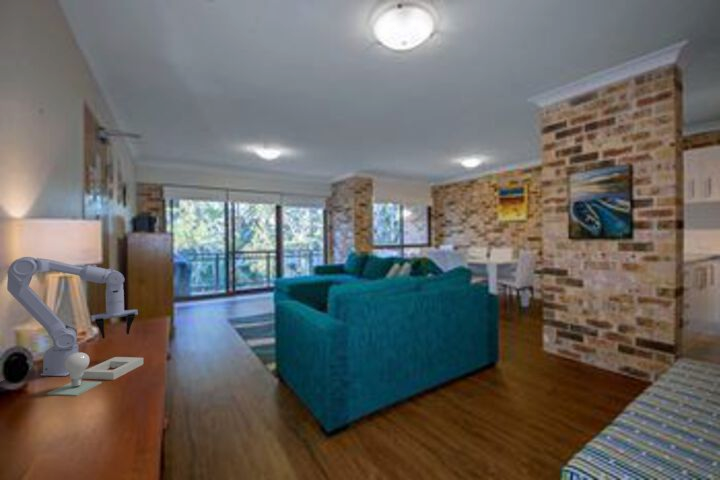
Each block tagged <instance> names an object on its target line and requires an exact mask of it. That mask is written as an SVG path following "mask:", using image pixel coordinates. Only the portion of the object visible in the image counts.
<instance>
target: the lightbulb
mask: <svg viewBox="0 0 720 480" xmlns="http://www.w3.org/2000/svg"><path fill="white" fill-rule="evenodd" d="M90 361H91V360H90V356H89V355H88V354H87V353H86V352H82V351H81V352H80V351H79V352H77V353H74V354H72V355H70V356H69V357H68V358H67V359H66V360H65V362H64V368H65V370H66V371H67V372H68V373H69V377H70V380H71V381H70V383H71V382H72V383H71V386H73V387H78V386H79V385H81V384H82V381H83V379H82V376H83V374H84V371H85V370H87V369H88V367H89V365H90Z"/></svg>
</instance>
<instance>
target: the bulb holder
mask: <svg viewBox="0 0 720 480" xmlns="http://www.w3.org/2000/svg"><path fill="white" fill-rule="evenodd" d="M143 365H144V357H134V356H133V357H130V356H114V357H111V358H109V359H107V360H105V361H102V362H100V363H98V364H96V365H93V366H91V367H89V368H86V369H85V371H84V374H83V376H82V380H107V381H108V380H110V381H112V380H116V379H118V378H120V377H122V376H124V375H126V374H127V373H129V372H131V371H134V370H135V369H137V368H139V367H141V366H143Z"/></svg>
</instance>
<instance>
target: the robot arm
mask: <svg viewBox="0 0 720 480" xmlns="http://www.w3.org/2000/svg"><path fill="white" fill-rule="evenodd" d="M37 271H38V273H40V274H41V273H46V272H49V271H52V272H58V273H64V274H70V275H74V276H79V278H80V279H81V280H82V281H88V282H91V283H97V284H100V285H101V284H102V285H103V284H106V287H105V288H106V289H105V312H103V313H96V314H93V315H91V316H90V317H91V322H95V324H96V326H97V327H98V329H99V331H100V334H101V339H105V338H106V337H105V323H104V320H107V319H114V318H115V319H116V318H120V317H126V319H125V320H126V331H125V332H126V335H129V334H130V331H131V326H132V324H133V322H134V320H135V318H136V316H137V315H139V313H138V310H139V309H125V296H124V295H125V292H124V283H125V277H124V275H123V274H122V273H121V272H120V271H118V270H115V269H112V268H103V267H99V266H97V264H92V265H89V264H87V265H85V266H78V265H74V264H69V263H65V262H61V261H58V260H57V261H56V260H52V259H48V258H39V257H37V258H35V257H32V256H24V257H20V258H17V259H15V260H14V261H12V262H11V264H10V266H9V267H8V270H7V272H6V273H7V282H6V285H7V287H6V288H7V291H8V293H9V294H10V295H11V296H12V297H13V298H14V299H15V300H16V301H17V302H18V303H19V304H20V305H21V306H22V307H23V308H24V309H25V310H26V311H27V312H28V313H29V314H30V315H31V316H32V317H33V318H34V319H35V320H36V322H38V323H39V325H41V327H42V328H44V330H45V331H46V332H47V334H48V336H49V337H50V338H51V339H52V343H53V347H50V348H48V349H47V350H46V351H45V352H44V353H43V354H44V355H43V359H42V360H43V363H42V365H43V367H42V368H43V369H42V370H43V373H40V376H50V377H51V376H52V377H67V376H70V374H69V373H68V372H67V371H66V370H65V368H64V362H65V360H66V359H67V358H68V357H69V356H70V355H72V354H74V353H77V352H80V351H79V349H80V348H79V346H80V345H79V344H80V343H78V342H77V341H78V331H77V329H76V328H74V327H73V326H69V325H68V324H67V323H65V322H64V321H63V320H61V318H60V317H59V316H58V315H57V314H56V313H55V312H54V311H53V310H52V309H51V307H49V306H48V305H47V304H46V303H45V301H44V300H42V298H40V296H39V295H38V293H36V292H35V291H34V290H33V289H32V288H31V286H30V284H31V281H32V278H33V276H34V275H35V274H36V272H37Z"/></svg>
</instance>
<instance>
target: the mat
mask: <svg viewBox="0 0 720 480" xmlns="http://www.w3.org/2000/svg"><path fill="white" fill-rule="evenodd" d="M71 383H72V382H71V381H70V382H68V383H66V384H65V385H62V386H60V387H58V388H56V389H53V390H51V391H49V392H47V393H46V395H48V396H65V397H66V396H71V397H72V396H73V397H79V396H80V395H81V394H83V393H85V392H87V391H89V390H91V389H93V388H95V387H97V386H99V385H101V384H102V383H103V381H93V380H91V381H90V380H89V381H87V380H85V381H84V380H82V384H81V385H79V386H78V387H73V386H71Z"/></svg>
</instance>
